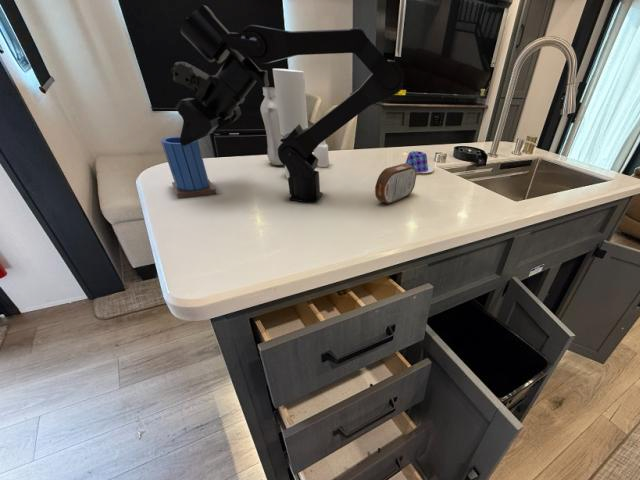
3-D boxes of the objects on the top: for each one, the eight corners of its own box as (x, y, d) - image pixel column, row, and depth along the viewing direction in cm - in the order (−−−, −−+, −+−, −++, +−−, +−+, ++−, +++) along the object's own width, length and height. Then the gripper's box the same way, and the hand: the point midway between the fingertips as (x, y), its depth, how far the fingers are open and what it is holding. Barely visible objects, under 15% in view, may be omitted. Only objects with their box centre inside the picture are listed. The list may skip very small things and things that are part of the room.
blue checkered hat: (416, 162, 115) (417, 147, 112) (441, 172, 109) (443, 155, 106) (391, 167, 108) (392, 150, 105) (416, 177, 102) (418, 159, 99)
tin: (407, 191, 91) (410, 159, 86) (416, 194, 89) (420, 162, 84) (373, 205, 80) (374, 170, 75) (383, 208, 79) (385, 173, 74)
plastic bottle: (277, 169, 96) (267, 89, 84) (264, 163, 99) (251, 86, 87) (295, 165, 100) (287, 89, 88) (281, 160, 103) (272, 86, 91)
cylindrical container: (317, 177, 94) (310, 72, 78) (298, 182, 89) (287, 71, 73) (299, 171, 96) (289, 69, 81) (280, 176, 91) (266, 68, 76)
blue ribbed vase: (210, 180, 80) (199, 136, 74) (207, 190, 75) (194, 144, 69) (179, 181, 78) (165, 136, 72) (173, 190, 73) (157, 143, 67)
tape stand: (209, 183, 82) (203, 160, 79) (216, 194, 77) (210, 170, 74) (173, 187, 78) (165, 163, 75) (178, 198, 73) (169, 173, 70)
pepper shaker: (326, 168, 101) (325, 134, 95) (314, 166, 101) (311, 133, 95) (329, 164, 104) (327, 132, 99) (316, 163, 104) (314, 130, 98)
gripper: (213, 46, 69) (175, 101, 74) (169, 44, 54) (126, 114, 60) (258, 93, 74) (220, 141, 80) (229, 103, 60) (185, 162, 65)
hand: (191, 139), depth 71 cm, fingers open, 9 cm apart
